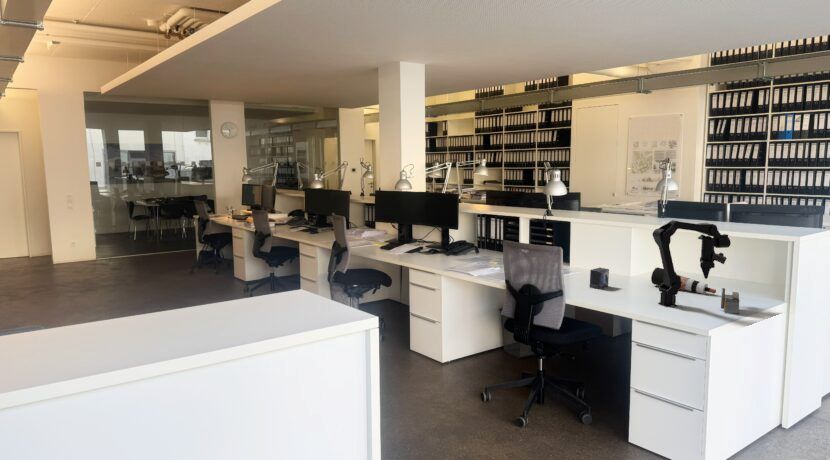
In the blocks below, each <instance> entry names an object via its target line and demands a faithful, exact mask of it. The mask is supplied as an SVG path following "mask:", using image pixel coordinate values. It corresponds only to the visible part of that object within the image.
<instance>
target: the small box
mask: <svg viewBox="0 0 830 460" xmlns="http://www.w3.org/2000/svg"><path fill="white" fill-rule="evenodd" d="M609 273H610V269H609V268H606V267H605V268H604V267H596V268H591V269H590V271H589V288H592V289H598V290H600V289H603V288H607V287H609V277H610V275H609Z"/></svg>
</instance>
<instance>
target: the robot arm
mask: <svg viewBox="0 0 830 460" xmlns="http://www.w3.org/2000/svg"><path fill="white" fill-rule="evenodd" d="M677 230H685V231H693V232H697V233H700V234H701V235H699V236H698V237H697V240H701V247H700V248H701V249H700V251H701V252H700V257H699V266H700V268H701V269H700V270H701V271H702V274H703V277H704V280H705V279H708V277H709V274H710V272H711V269H715V265H716V264H715V262H718V263H720V264H722V265H725V264H726V263H725V262H726V261H727V257H726V256H724V253H722V252H719V253H716V252H715V248H716V249H718V248H719V249H721V248H724V249H725V248H726V249H727V248H729V247H731V244H732V243H731V239H730V238H729V234H727V233H724V234H721V233H720V231H719V229H718V227H717V225H716V224H713V223H709V222H699V223H694V222H693V223H691V222H688V221H687V222H684V221H679V220H674V219H672V220H670V221H668V222H667V223H665V224H663V225H662V226H660V227H659V228H656V229H654V230H653V232H652V238H653V240H654V242H655V244H656V245H657V247H658V250H659V254H660V259H661V263H662V269H664V273H665V274H664V277H663V283H662V284H661V285H660V286H659V285H658V292H660V298H659V299H660V300H659V302H657V303H658V305H661V306H663V307H677V306H678V304H677V303H676V302H677V295H678V292H679V291H680V290H681V289H680V288H681V283H682V282H681V277H680V276H681V275H679V274H677V273H676V274H675V272H676V271H675V267H674V263H673V258H672V257H673V256H672V254H671V253H672V252H671V249H670V244H671V240H672V239H671V237H672V236H674V235H675V233H676V231H677Z"/></svg>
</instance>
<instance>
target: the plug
mask: <svg viewBox="0 0 830 460" xmlns="http://www.w3.org/2000/svg"><path fill="white" fill-rule="evenodd" d="M725 295H726V288H724V287H722V289H721V300H720V301H721V302H720V309H722V310H723V311H724V312H725Z"/></svg>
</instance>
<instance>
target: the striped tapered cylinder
mask: <svg viewBox="0 0 830 460" xmlns="http://www.w3.org/2000/svg"><path fill="white" fill-rule="evenodd" d="M664 274H665V273H664V268H663V267H657V266H656V267H655V268H654V269H653V270H652V273H651V277H650V278H651V279H650V282H651V284H653V285H656V286H658V287H659V286H660V285H661V284H662V283H663V277H664ZM675 274H677V272H676V271H675ZM680 277H681V282H682V283H681V288H680V289H679V290H683V291H689V292H693V293H698V294H701V295H705V294H706V293H710V294H711V293H712V294H716V293H717V290H716V289H714V288H711V287H709V286H708V285H709V284H708V283H705V282H701V281H698V280H695V279H692V278H689V277H685V276H682V275H680Z"/></svg>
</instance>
